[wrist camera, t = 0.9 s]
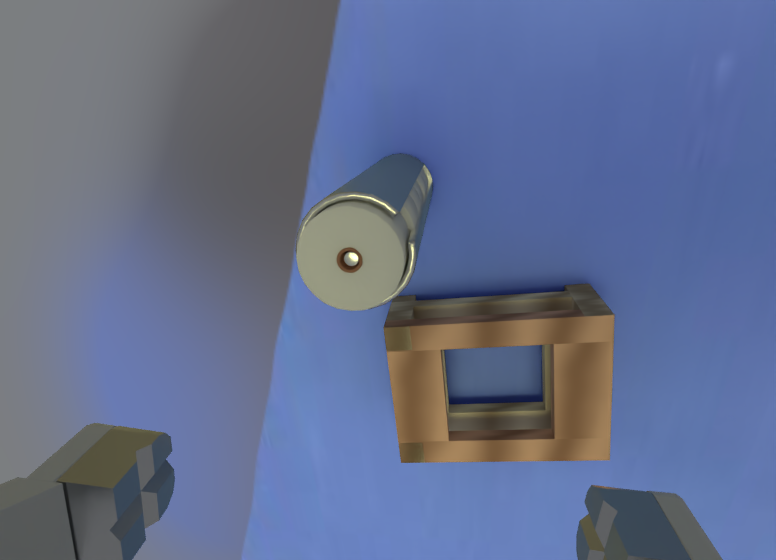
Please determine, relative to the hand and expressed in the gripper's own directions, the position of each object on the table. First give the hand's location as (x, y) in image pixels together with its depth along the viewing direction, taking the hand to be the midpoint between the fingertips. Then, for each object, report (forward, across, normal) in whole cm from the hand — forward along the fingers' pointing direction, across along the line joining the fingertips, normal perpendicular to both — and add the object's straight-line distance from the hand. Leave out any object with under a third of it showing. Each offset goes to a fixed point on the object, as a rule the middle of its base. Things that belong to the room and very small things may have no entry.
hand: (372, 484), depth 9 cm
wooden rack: (+40, -9, +17) cm, 45 cm away
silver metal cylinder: (+41, +2, 0) cm, 41 cm away
